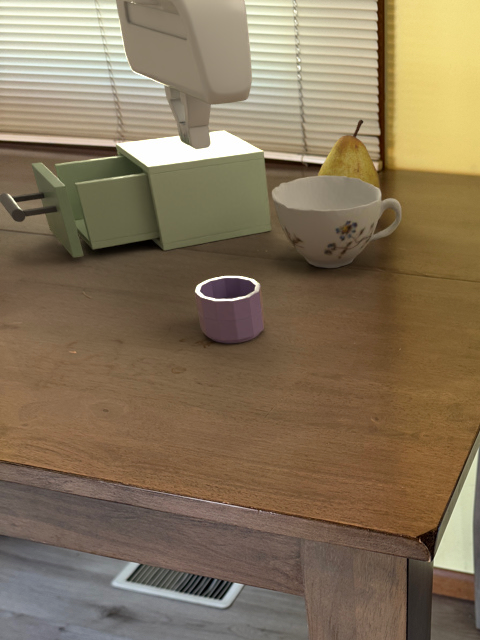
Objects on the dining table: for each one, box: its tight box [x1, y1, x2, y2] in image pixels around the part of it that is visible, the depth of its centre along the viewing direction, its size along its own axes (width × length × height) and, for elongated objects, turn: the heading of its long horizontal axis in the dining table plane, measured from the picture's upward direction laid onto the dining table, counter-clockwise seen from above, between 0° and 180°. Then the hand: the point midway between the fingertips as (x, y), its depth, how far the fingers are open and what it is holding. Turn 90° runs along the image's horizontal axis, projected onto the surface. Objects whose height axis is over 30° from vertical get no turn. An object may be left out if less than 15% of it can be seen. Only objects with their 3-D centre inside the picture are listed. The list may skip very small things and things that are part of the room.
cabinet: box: [115, 130, 272, 252], centre depth 97 cm, size 15×13×10 cm
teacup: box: [271, 175, 402, 269], centre depth 89 cm, size 15×12×8 cm
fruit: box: [317, 119, 381, 190], centre depth 99 cm, size 9×9×12 cm
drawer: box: [0, 155, 160, 259], centre depth 92 cm, size 18×11×8 cm, turn 123°
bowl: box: [194, 275, 266, 344], centre depth 75 cm, size 6×6×4 cm
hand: (196, 145), depth 67 cm, fingers closed
